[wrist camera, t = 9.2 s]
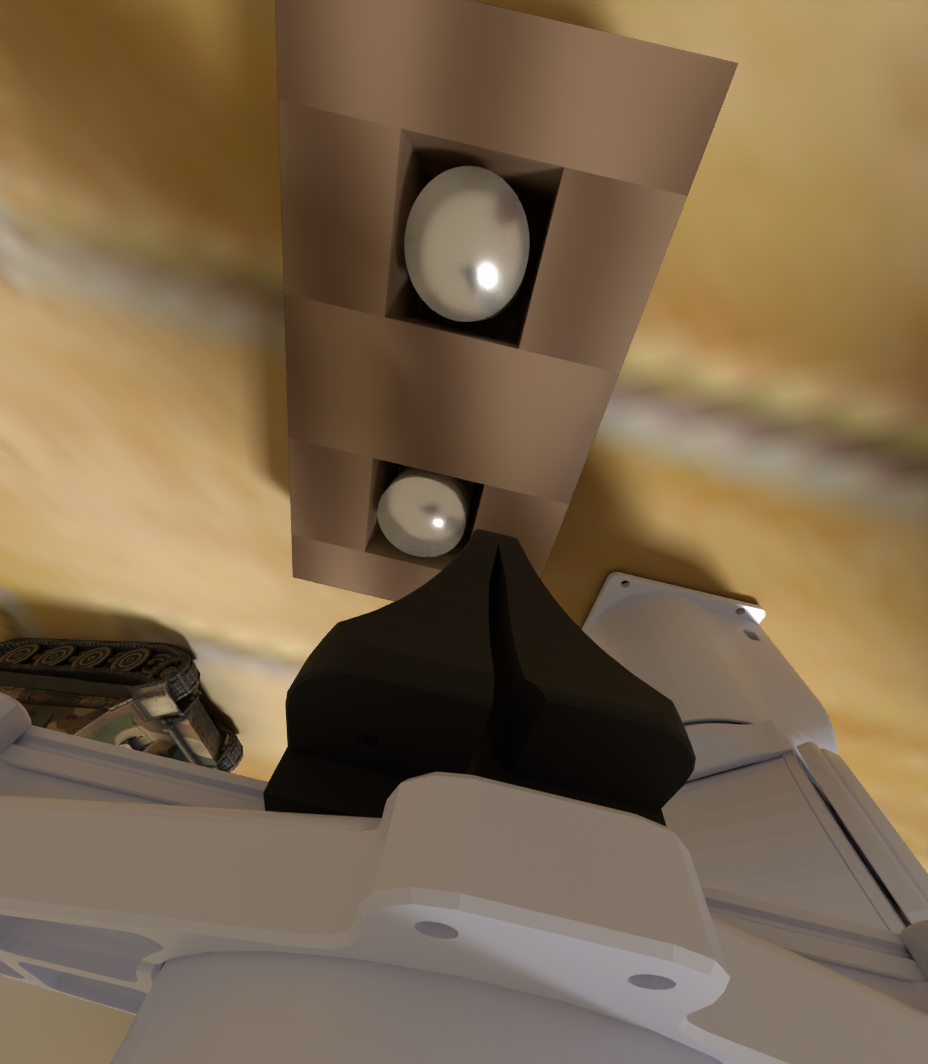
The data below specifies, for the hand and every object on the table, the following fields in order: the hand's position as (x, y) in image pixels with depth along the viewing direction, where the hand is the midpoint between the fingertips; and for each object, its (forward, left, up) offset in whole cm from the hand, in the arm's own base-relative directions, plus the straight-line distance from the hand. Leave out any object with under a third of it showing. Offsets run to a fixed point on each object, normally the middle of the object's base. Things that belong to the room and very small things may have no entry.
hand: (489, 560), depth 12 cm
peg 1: (+3, -8, -10) cm, 13 cm away
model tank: (+28, +30, -10) cm, 42 cm away
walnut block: (+3, -3, -10) cm, 11 cm away
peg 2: (+3, +2, -10) cm, 10 cm away
